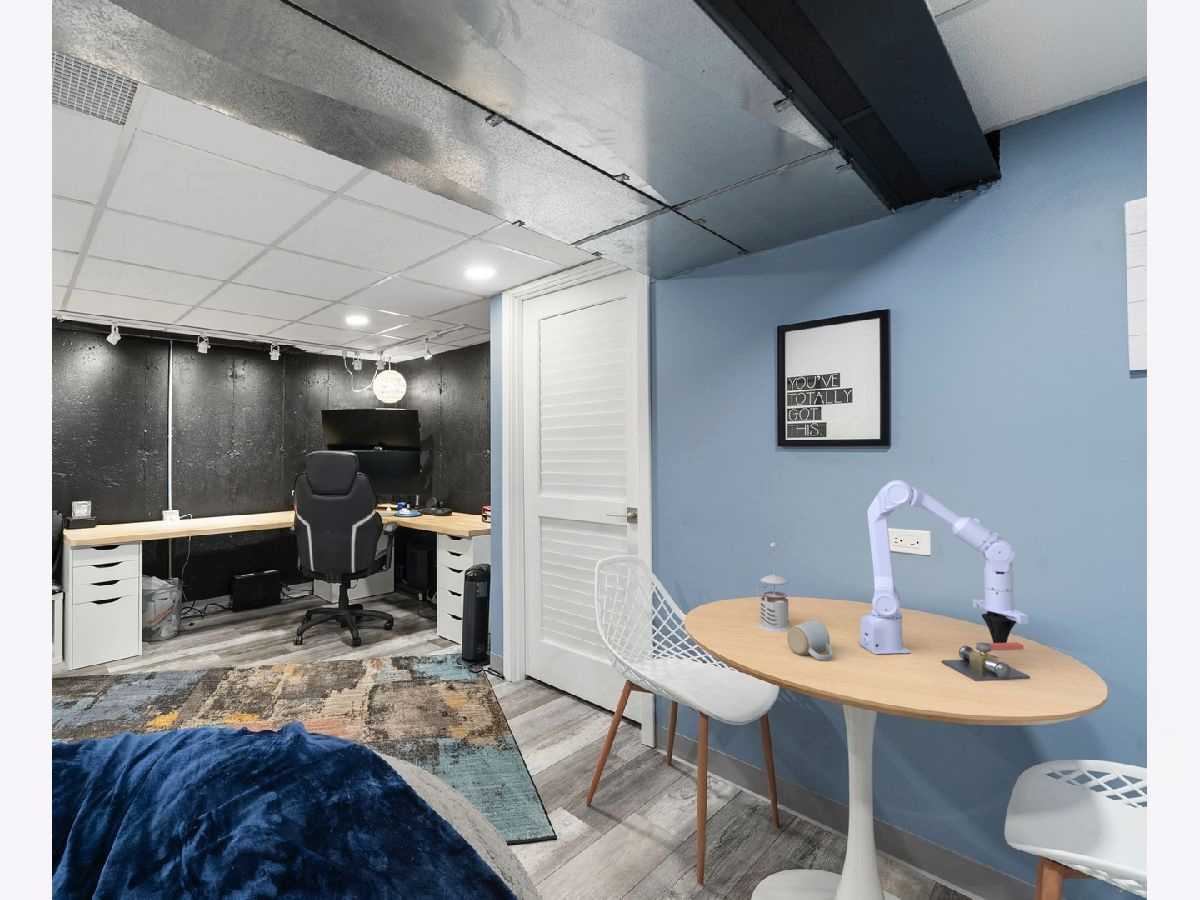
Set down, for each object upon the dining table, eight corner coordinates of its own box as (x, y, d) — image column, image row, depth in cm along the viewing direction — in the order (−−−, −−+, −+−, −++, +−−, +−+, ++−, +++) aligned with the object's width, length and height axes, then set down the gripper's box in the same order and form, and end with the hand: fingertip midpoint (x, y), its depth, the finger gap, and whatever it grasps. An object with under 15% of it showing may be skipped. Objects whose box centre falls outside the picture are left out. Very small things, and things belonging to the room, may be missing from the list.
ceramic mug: (784, 650, 145) (784, 621, 145) (806, 645, 149) (806, 616, 149) (818, 664, 136) (818, 633, 136) (840, 658, 140) (840, 628, 140)
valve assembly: (1031, 679, 125) (1031, 659, 125) (976, 681, 124) (976, 661, 124) (990, 660, 137) (990, 641, 137) (940, 661, 136) (939, 643, 136)
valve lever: (982, 652, 129) (982, 646, 129) (973, 647, 132) (973, 642, 132) (1025, 650, 130) (1025, 645, 130) (1015, 646, 133) (1015, 641, 133)
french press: (772, 633, 159) (771, 545, 159) (746, 623, 169) (745, 540, 170) (799, 629, 163) (798, 543, 163) (772, 619, 173) (771, 538, 174)
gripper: (1040, 595, 128) (1041, 655, 127) (991, 581, 142) (992, 635, 142) (1010, 596, 127) (1012, 656, 127) (964, 582, 142) (965, 635, 141)
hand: (999, 645), depth 134 cm, fingers closed
